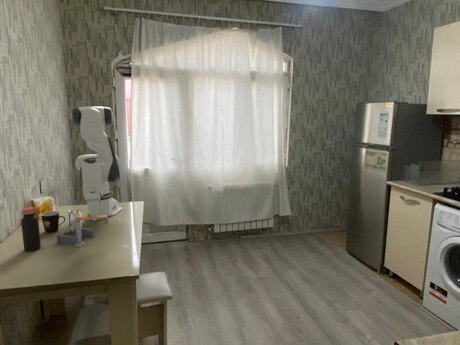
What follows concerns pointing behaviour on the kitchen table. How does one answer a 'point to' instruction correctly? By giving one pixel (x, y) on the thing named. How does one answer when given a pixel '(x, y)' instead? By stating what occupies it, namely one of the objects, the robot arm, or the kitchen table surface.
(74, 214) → the beer glass
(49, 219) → the coffee mug
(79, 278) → the kitchen table surface
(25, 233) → the bottle
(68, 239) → the cradle
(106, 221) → the bar
